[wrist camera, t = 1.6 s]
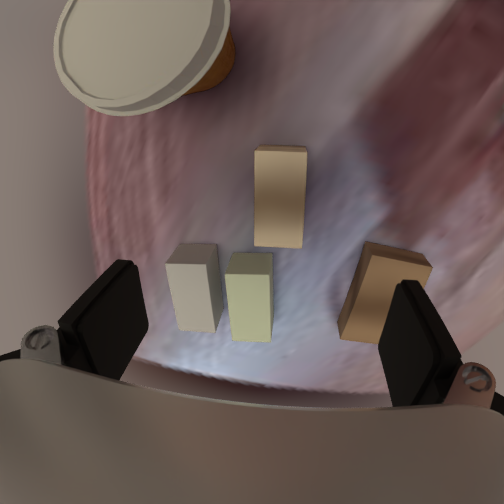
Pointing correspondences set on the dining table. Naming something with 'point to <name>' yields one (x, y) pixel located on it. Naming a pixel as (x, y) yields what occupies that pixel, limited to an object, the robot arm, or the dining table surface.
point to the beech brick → (279, 195)
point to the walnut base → (377, 289)
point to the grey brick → (196, 287)
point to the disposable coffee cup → (142, 51)
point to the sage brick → (250, 296)
